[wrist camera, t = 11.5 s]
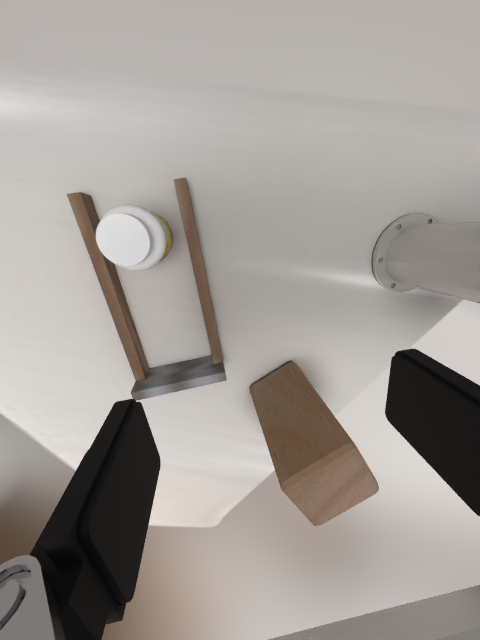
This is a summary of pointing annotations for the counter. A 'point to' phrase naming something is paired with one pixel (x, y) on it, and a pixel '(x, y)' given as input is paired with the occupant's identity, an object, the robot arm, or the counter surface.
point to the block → (310, 447)
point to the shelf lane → (146, 379)
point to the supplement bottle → (133, 237)
